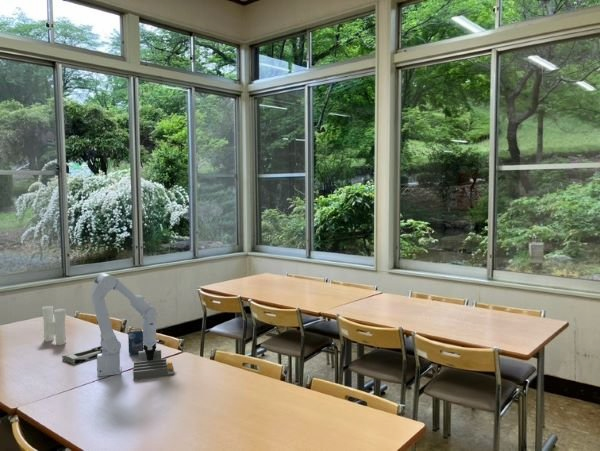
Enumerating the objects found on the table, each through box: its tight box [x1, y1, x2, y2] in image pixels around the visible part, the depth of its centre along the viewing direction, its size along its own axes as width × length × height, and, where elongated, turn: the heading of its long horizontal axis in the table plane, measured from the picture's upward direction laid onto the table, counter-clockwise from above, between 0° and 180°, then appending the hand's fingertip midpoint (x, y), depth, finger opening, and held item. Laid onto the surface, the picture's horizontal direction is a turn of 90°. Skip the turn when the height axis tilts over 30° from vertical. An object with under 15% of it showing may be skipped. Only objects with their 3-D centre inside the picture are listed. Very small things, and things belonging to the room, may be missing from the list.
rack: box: [132, 358, 175, 381], centre depth 209 cm, size 16×12×4 cm
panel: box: [138, 348, 162, 362], centre depth 220 cm, size 10×2×6 cm, turn 108°
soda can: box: [127, 328, 144, 357], centre depth 233 cm, size 7×7×12 cm
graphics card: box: [61, 345, 103, 366], centre depth 231 cm, size 10×3×25 cm
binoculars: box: [41, 305, 67, 346], centre depth 253 cm, size 17×5×18 cm, turn 56°
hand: (150, 360), depth 220 cm, fingers closed on panel, 2 cm apart
